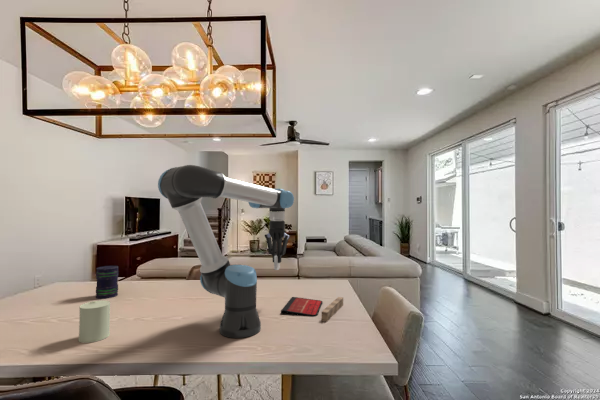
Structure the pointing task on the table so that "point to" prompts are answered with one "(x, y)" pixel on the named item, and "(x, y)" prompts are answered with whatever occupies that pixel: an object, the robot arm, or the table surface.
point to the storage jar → (107, 282)
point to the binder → (302, 307)
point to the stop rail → (332, 309)
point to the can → (94, 321)
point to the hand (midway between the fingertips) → (276, 269)
